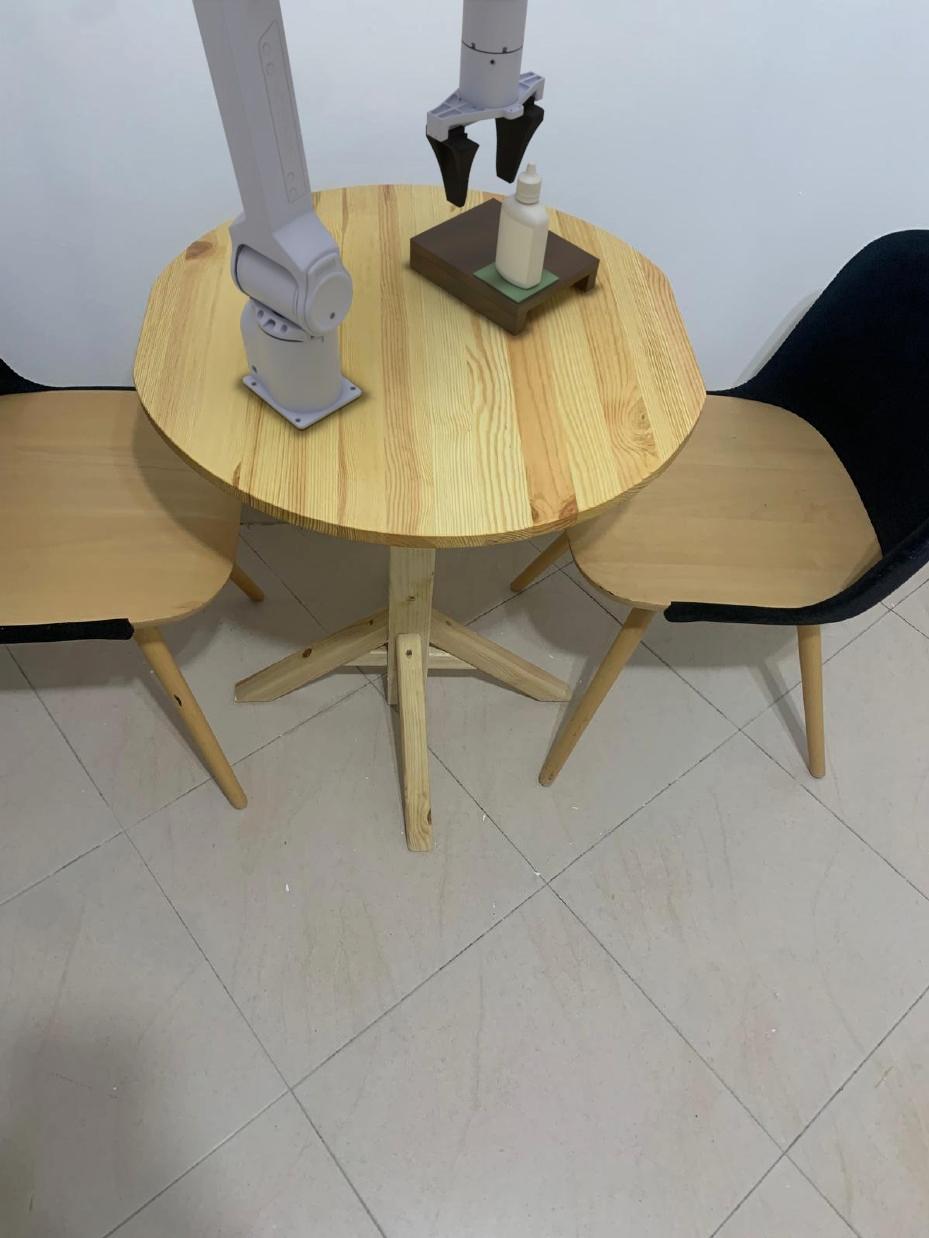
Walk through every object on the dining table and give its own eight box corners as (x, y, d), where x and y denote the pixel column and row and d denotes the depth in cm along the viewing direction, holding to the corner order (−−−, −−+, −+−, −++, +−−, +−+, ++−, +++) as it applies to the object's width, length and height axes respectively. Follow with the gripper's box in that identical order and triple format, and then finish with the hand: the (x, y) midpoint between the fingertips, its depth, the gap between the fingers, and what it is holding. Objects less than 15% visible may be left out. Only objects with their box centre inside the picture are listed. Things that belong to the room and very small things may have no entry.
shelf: (409, 266, 91) (409, 236, 88) (490, 225, 97) (493, 196, 94) (514, 335, 85) (518, 306, 82) (594, 287, 91) (600, 258, 88)
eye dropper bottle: (503, 292, 84) (516, 178, 74) (492, 262, 86) (503, 149, 76) (542, 290, 84) (560, 177, 74) (530, 260, 87) (546, 148, 77)
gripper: (467, 77, 66) (459, 231, 77) (576, 36, 72) (553, 184, 84) (411, 49, 69) (411, 201, 80) (521, 11, 75) (506, 158, 86)
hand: (480, 191), depth 82 cm, fingers open, 7 cm apart
